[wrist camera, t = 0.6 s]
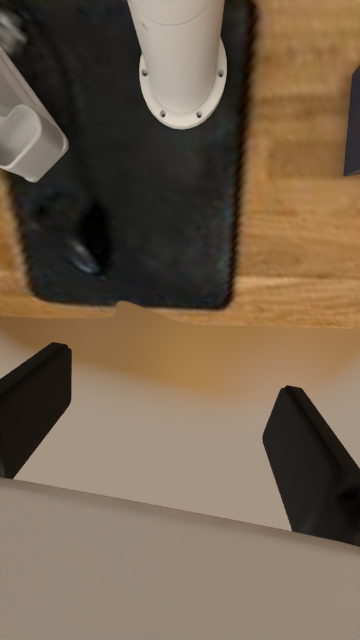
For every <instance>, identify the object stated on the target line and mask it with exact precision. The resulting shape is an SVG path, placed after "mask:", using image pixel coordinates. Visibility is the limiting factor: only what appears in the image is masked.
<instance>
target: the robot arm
mask: <svg viewBox="0 0 360 640" xmlns="http://www.w3.org/2000/svg"><path fill="white" fill-rule="evenodd" d="M127 1H128V4H129V8H130V12H131V15H132V19H133V22H134V26H135V29H136V33H137V36H138V40H139V43H140V47H141V51H142V55H141V59H140V69H139V73H140V84H141V89H142V93H143V96H144V99H145V101H146V103H147V106H148V108H149V109H150V111H151V112H152V114H153V115H154V116H155V117H156V118H157V119H158V120H159V121H160V122H161V123H163V124H164V125H166V126H168V127H171V128H174V129H189V128H192V127H195V126H197V125H199V124H201V123H202V122H204V121H205V120H206V119H207V118H208V117H209V116H210V115H211V114H212V113H213V111H214V110H215V109H216V107H217V105H218V103H219V102H220V99H221V97H222V94H223V91H224V87H225V82H226V75H227V59H226V54H225V49H224V46H223V43H222V40H221V38H220V34H221V25H222V17H223V9H224V1H225V0H127ZM145 75H147V76H145ZM219 76H222V77H219ZM163 115H165V117H162V116H163ZM198 116H201V118H198ZM71 355H72V351H71V349H69V348H68V346H67V345H66V344H61V343H55V342H53V343H51V344H49V345H48V346H46V347H45V348H44V349H42V350H41V351H39V352H38V353H36V354H35V355H34V356H33V357H31V358H29V359H28V360H27V361H25V362H24V363H22V364H21V365H20V366H18V367H17V368H15V369H14V370H12V371H11V372H10V373H8V374H7V375H5V376H4V377H3V378H1V379H0V640H360V468H359V467H358V466H357V464H356V463H355V461H354V460H353V459H352V457H351V456H350V454H349V453H348V452H347V450H346V449H345V448H344V446H343V445H342V443H341V442H340V441H339V439H338V438H337V436H336V435H335V434H334V432H333V431H332V430H331V428H330V427H329V425H328V424H327V423H326V421H325V420H324V419H323V417H322V416H321V414H320V413H319V412H318V410H317V409H316V407H315V406H314V405H313V403H312V402H311V400H310V399H309V398H308V396H307V395H306V393H305V392H304V391H303V389H302V388H298V387H293V386H288V385H287V386H286V387H285V388H281V390H280V392H279V394H278V397H277V399H276V402H275V405H274V407H273V410H272V412H271V415H270V418H269V420H268V422H267V425H266V428H265V430H264V433H263V444H264V447H265V450H266V453H267V456H268V459H269V462H270V465H271V468H272V471H273V474H274V477H275V480H276V483H277V486H278V489H279V492H280V495H281V498H282V501H283V504H284V507H285V510H286V513H287V516H288V519H289V522H290V525H291V528H292V531H293V532H292V531H287V530H282V529H277V528H272V527H266V526H261V525H256V524H251V523H246V522H241V521H236V520H231V519H226V518H220V517H215V516H210V515H205V514H200V513H194V512H189V511H183V510H178V509H173V508H168V507H163V506H157V505H152V504H147V503H141V502H135V501H131V500H125V499H120V498H114V497H109V496H103V495H98V494H93V493H87V492H81V491H76V490H70V489H65V488H60V487H54V486H49V485H42V484H37V483H32V482H26V481H19V480H14V479H13V478H14V477H15V476H16V474H17V473H18V472H19V470H20V469H21V468H22V466H23V465H24V464H25V462H26V461H27V460H28V459H29V457H30V456H31V455H32V453H33V452H34V451H35V449H36V448H37V447H38V446H39V444H40V443H41V442H42V440H43V439H44V438H45V436H46V435H47V434H48V432H49V431H50V430H51V429H52V427H53V426H54V424H55V423H56V422H57V421H58V419H59V418H60V417H61V416H62V414H63V413H64V412H65V410H66V409H67V408H68V406H69V404H70V402H71V372H72V371H71V370H72V368H71V366H72V365H71V364H72V359H71V358H72V356H71Z"/></svg>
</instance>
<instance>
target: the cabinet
mask: <svg viewBox="0 0 360 640" xmlns="http://www.w3.org/2000/svg"><path fill="white" fill-rule="evenodd" d="M356 174H360V67H359V68H358V69H357V70H356V71H355V72H354V73H353V74H352V86H351V97H350V109H349V120H348V131H347V143H346V154H345V166H344V176H350V175H356Z"/></svg>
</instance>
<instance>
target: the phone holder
mask: <svg viewBox="0 0 360 640" xmlns="http://www.w3.org/2000/svg"><path fill="white" fill-rule="evenodd" d="M68 147H69V142H68V139H67V137H66V136H65V135H64V133H63V132H62V130H61V129H60V128H59V126H58V125H57V123H56V122H55V121H54V119H53V118H52V116H51V115H50V114H49V112H48V111H47V110H46V108H45V107H44V105H43V104H42V103H41V101H40V100H39V98H38V97H37V96H36V94H35V93H34V91H33V90H32V89H31V87H30V86H29V84H28V83H27V82H26V80H25V79H24V77H23V76H22V75H21V73H20V72H19V71H18V69H17V68H16V66H15V65H14V64H13V62H12V61H11V59H10V58H9V57H8V55H7V54H6V52H5V51H4V50H3V48H2V47H1V45H0V168H2V169H5V170H7V171H10V172H12V173H15V174H18V175H20V176H23V177H24V178H25V179H26V180H28V181H30V182H37V181H38V180H39V179H40V178H41V177H42V176H43V175H44V174H45V173H46V172H47V171H48V170H49V169H50V168H51V167H52V166H53V165H54V164H55V163H56V162H57V161H58V160H59V159H60V158H61V157H62V156H63V155H64V153H65V152H66V151H67V150H68Z"/></svg>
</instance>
